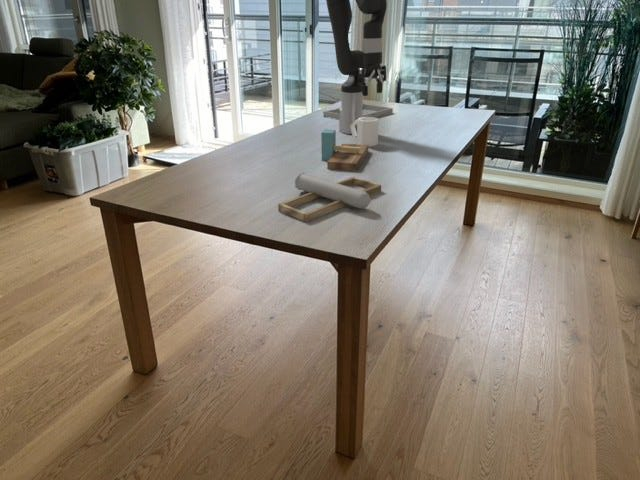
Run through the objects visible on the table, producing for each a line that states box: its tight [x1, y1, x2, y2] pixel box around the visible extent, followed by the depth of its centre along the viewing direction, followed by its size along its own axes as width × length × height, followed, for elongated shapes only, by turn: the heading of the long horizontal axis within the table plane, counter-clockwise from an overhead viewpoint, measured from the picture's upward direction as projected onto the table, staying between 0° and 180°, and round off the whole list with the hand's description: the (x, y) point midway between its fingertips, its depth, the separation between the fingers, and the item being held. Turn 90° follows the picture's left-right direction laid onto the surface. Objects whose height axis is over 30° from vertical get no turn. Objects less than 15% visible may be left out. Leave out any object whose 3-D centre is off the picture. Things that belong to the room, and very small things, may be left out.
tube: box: [294, 172, 372, 210], centre depth 135 cm, size 5×5×25 cm
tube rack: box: [277, 176, 382, 223], centre depth 136 cm, size 11×31×2 cm, turn 135°
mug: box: [350, 117, 380, 147], centre depth 190 cm, size 12×9×10 cm
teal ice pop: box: [320, 128, 361, 162], centre depth 171 cm, size 14×5×10 cm, turn 75°
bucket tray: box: [322, 103, 394, 120], centre depth 241 cm, size 21×29×2 cm
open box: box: [326, 143, 369, 172], centre depth 172 cm, size 10×24×3 cm, turn 165°
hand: (372, 94), depth 191 cm, fingers open, 8 cm apart
